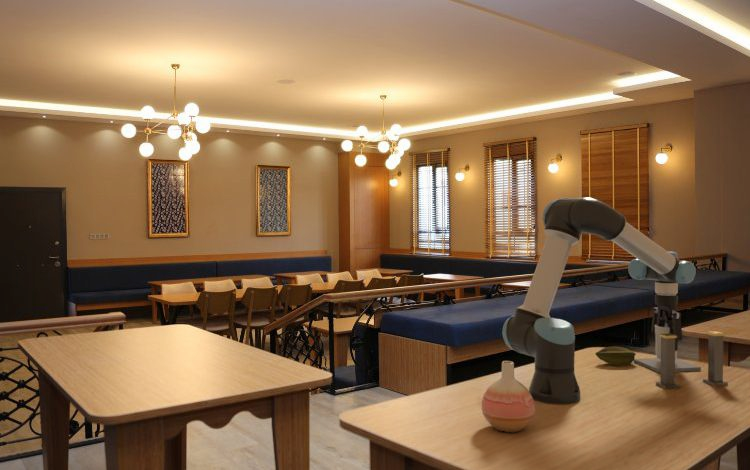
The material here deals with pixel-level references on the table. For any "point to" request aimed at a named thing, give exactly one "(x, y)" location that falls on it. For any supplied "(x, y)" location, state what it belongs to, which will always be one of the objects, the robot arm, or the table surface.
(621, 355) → the fruit
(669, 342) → the post
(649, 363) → the pad
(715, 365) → the post
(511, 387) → the vase
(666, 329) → the cup
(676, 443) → the table surface
